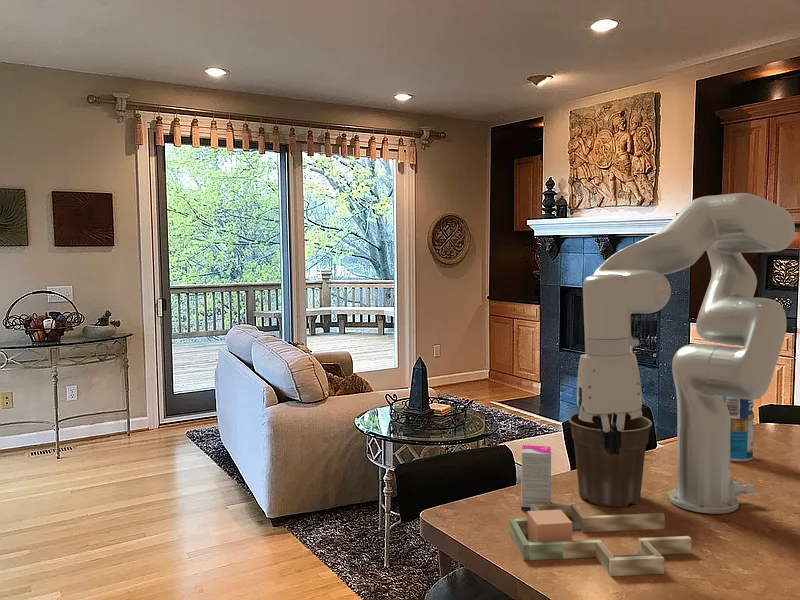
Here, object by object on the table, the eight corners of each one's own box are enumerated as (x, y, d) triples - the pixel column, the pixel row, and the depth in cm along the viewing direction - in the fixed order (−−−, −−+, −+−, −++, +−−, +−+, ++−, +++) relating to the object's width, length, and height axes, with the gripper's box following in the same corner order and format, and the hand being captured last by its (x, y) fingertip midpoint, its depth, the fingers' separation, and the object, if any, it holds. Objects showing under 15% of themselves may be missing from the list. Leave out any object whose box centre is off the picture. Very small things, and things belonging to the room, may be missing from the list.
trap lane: (647, 512, 127) (647, 500, 127) (711, 571, 103) (711, 556, 103) (502, 518, 126) (502, 505, 125) (533, 579, 102) (533, 563, 101)
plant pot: (659, 514, 126) (659, 430, 125) (572, 510, 129) (571, 428, 128) (643, 485, 142) (643, 411, 141) (566, 482, 145) (565, 409, 144)
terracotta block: (560, 537, 117) (560, 509, 117) (572, 551, 111) (572, 522, 111) (527, 538, 117) (527, 511, 116) (537, 553, 111) (537, 524, 110)
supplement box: (551, 511, 128) (551, 453, 128) (520, 510, 130) (520, 452, 129) (550, 501, 134) (550, 445, 133) (521, 499, 135) (520, 444, 135)
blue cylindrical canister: (706, 454, 163) (707, 373, 162) (734, 450, 166) (735, 371, 164) (733, 464, 155) (734, 379, 154) (761, 460, 157) (763, 376, 156)
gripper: (642, 340, 116) (645, 442, 118) (558, 346, 116) (562, 448, 117) (660, 347, 109) (663, 456, 111) (571, 353, 108) (575, 462, 110)
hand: (611, 452), depth 114 cm, fingers closed
